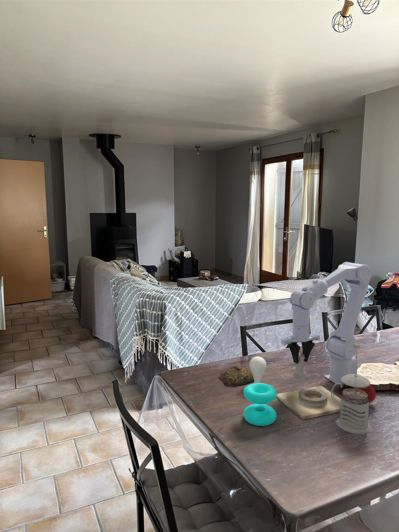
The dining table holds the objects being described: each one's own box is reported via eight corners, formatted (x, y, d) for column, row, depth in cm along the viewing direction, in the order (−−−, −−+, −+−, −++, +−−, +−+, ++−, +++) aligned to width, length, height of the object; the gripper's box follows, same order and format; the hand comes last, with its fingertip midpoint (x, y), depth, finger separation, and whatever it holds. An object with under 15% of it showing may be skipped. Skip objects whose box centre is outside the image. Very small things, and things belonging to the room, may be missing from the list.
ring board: (321, 388, 144) (321, 380, 144) (351, 409, 129) (351, 400, 129) (276, 396, 138) (276, 388, 138) (302, 419, 123) (303, 410, 123)
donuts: (236, 386, 124) (261, 378, 130) (237, 416, 126) (261, 408, 131) (258, 399, 116) (283, 390, 121) (258, 431, 117) (283, 421, 123)
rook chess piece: (291, 373, 145) (292, 352, 144) (303, 373, 146) (304, 352, 144) (295, 379, 141) (296, 357, 139) (308, 378, 141) (309, 356, 140)
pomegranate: (374, 401, 134) (375, 378, 133) (375, 409, 129) (377, 385, 127) (355, 398, 136) (356, 376, 135) (356, 406, 131) (357, 383, 129)
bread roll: (258, 383, 150) (258, 370, 150) (228, 388, 146) (228, 375, 145) (243, 370, 162) (243, 358, 161) (214, 375, 158) (214, 363, 157)
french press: (368, 437, 113) (372, 351, 110) (326, 426, 120) (328, 344, 116) (374, 421, 122) (378, 341, 118) (334, 411, 128) (337, 335, 124)
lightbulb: (265, 390, 143) (266, 360, 142) (248, 389, 145) (248, 359, 143) (266, 383, 149) (266, 354, 148) (250, 381, 151) (250, 353, 149)
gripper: (312, 319, 146) (311, 355, 148) (276, 323, 142) (276, 360, 144) (324, 324, 140) (323, 362, 142) (287, 329, 135) (286, 367, 137)
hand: (300, 361), depth 142 cm, fingers closed on rook chess piece, 3 cm apart
